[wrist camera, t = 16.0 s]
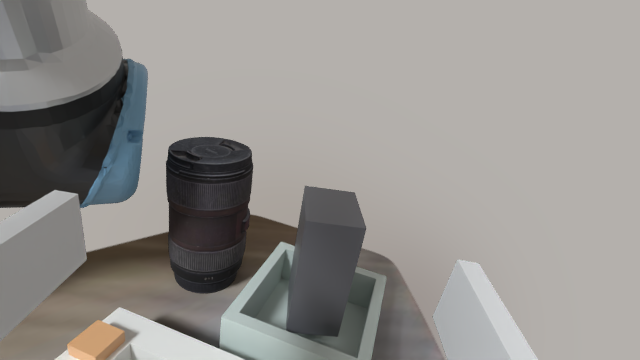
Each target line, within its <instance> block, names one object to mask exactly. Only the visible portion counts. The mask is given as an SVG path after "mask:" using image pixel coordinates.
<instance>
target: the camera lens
mask: <svg viewBox="0 0 640 360" xmlns="http://www.w3.org/2000/svg"><path fill="white" fill-rule="evenodd" d="M252 173H253V163H252V152H251V150H250V149H249V147H248V146H246V145H244V144H241V143H239V142H236V141H233V140H228V139H223V138H214V137H198V138H188V139H183V140H179V141H177V142H175V143H173V144H172V145H171V146H170V147H169V150H168V160H167V161H166V177H167V178H166V184H167V185H166V186H167V196H168V202H169V234H168V241H169V256H170V263H171V268H172V270H173V271H174V274H175V279H176V281H177V283H178V284H179V285H180V286H181V287H182V288H184V289H186V290H188V291H191V292H195V293H212V292H216V291H219V290H222V289H224V288H226V287H227V286H229V285H230V284H231V283H232V282H233V281H234V279H235V277H236V274H237V271H238V269H239V268H240V266H241V263H242V258H243V254H244V250H245V244H246V230H247V228H248V227H249V219H250V211H249V209H248V203H249V201H250V194H251V185H252Z"/></svg>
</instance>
